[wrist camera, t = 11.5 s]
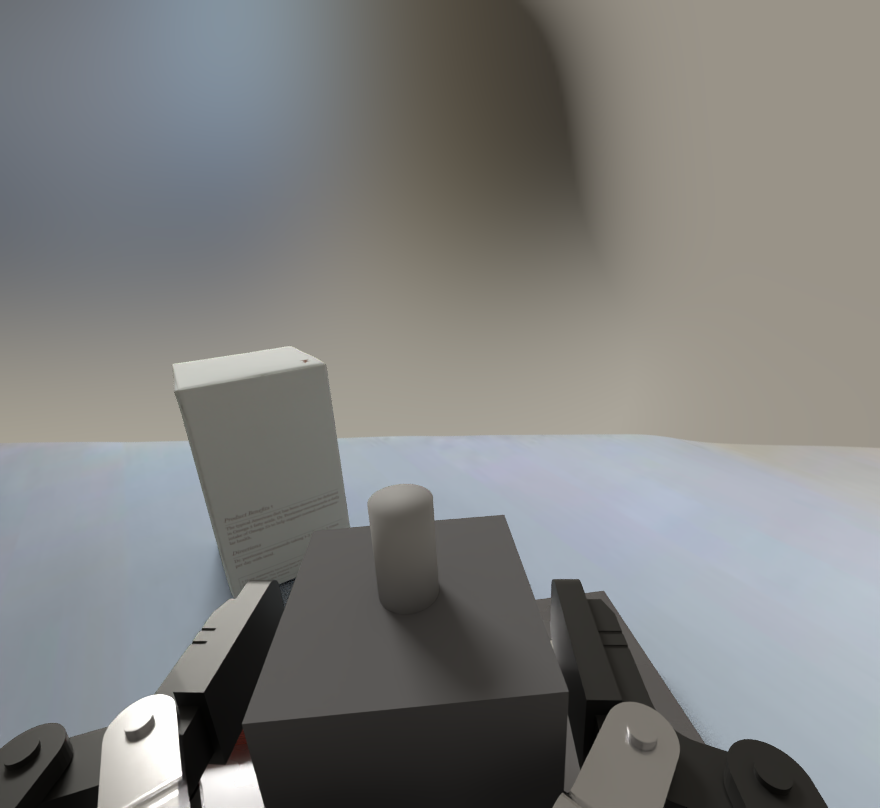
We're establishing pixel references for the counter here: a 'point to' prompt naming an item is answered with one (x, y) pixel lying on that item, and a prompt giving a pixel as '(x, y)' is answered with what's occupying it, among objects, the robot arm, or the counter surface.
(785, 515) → the counter surface
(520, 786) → the plug
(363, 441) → the counter surface
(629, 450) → the counter surface
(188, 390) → the supplement box
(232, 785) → the socket
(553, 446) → the counter surface
